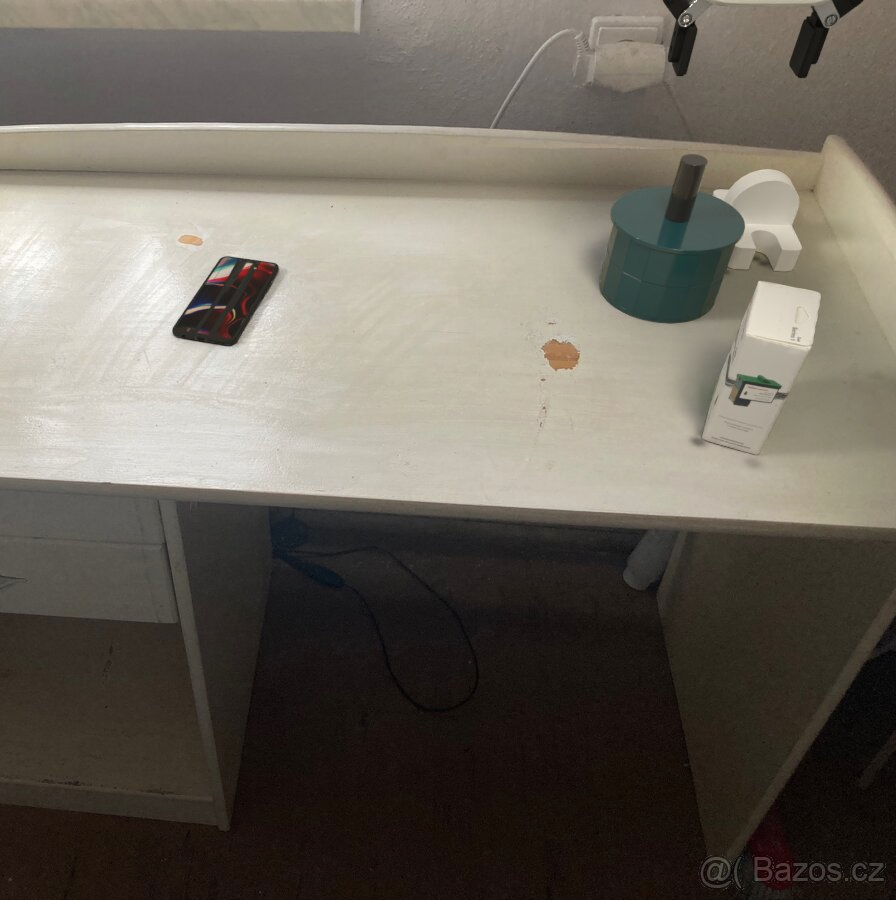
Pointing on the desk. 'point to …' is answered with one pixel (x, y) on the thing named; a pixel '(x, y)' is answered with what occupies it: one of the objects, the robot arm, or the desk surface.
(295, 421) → the desk surface
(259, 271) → the smartphone
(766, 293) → the ink box
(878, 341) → the desk surface
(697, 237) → the lid
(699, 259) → the pot
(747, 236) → the slotted bracket
